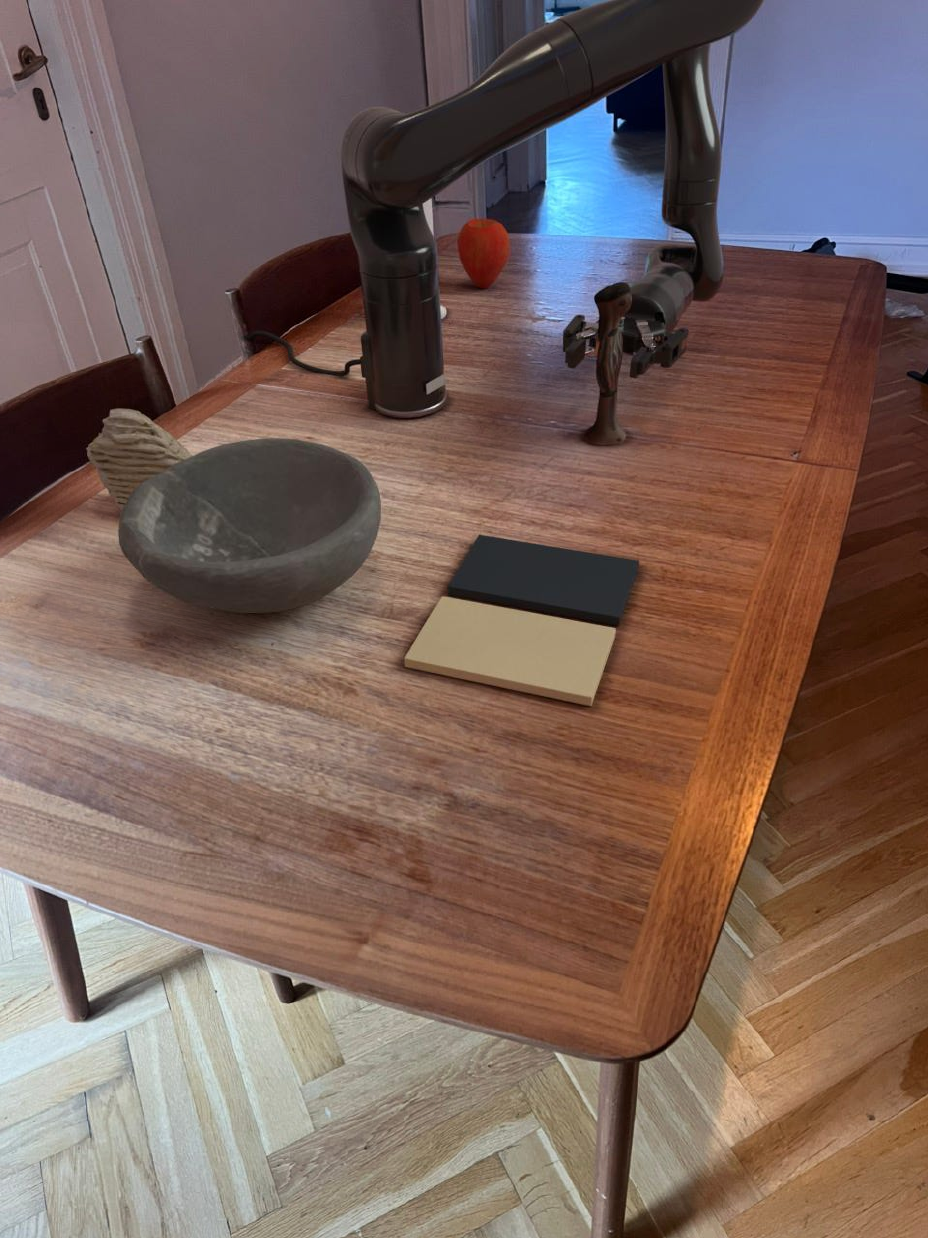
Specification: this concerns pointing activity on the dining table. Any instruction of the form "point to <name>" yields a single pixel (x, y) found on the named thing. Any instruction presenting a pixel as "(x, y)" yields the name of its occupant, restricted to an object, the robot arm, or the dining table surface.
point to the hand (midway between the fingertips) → (601, 364)
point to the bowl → (253, 525)
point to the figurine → (609, 363)
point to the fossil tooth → (132, 452)
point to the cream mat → (513, 649)
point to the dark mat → (546, 579)
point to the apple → (483, 250)
